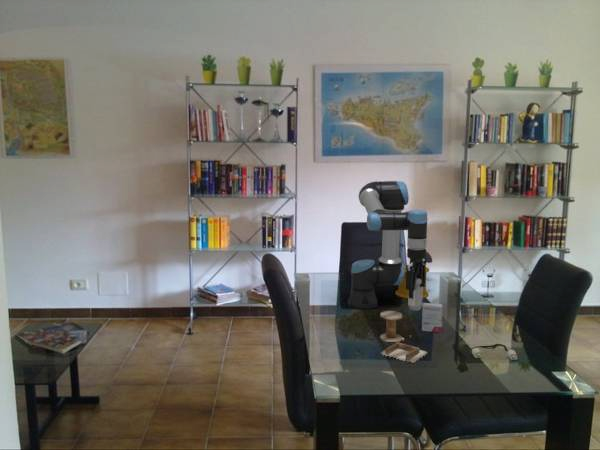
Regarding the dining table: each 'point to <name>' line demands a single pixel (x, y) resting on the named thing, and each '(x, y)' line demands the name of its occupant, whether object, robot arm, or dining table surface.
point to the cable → (510, 353)
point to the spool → (404, 293)
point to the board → (404, 352)
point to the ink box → (432, 317)
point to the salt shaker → (417, 296)
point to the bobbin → (391, 326)
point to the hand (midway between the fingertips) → (415, 303)
